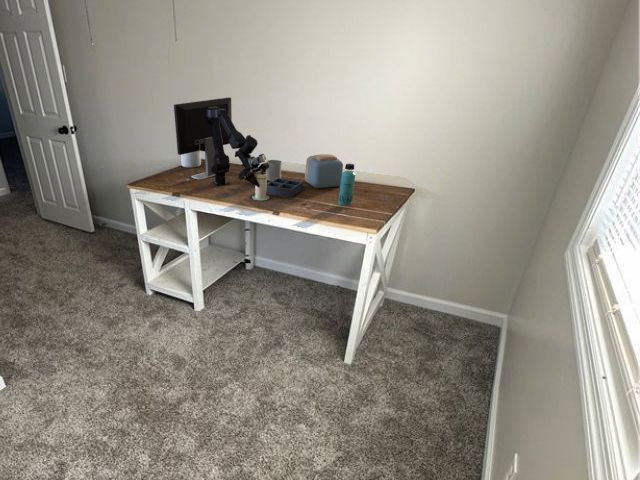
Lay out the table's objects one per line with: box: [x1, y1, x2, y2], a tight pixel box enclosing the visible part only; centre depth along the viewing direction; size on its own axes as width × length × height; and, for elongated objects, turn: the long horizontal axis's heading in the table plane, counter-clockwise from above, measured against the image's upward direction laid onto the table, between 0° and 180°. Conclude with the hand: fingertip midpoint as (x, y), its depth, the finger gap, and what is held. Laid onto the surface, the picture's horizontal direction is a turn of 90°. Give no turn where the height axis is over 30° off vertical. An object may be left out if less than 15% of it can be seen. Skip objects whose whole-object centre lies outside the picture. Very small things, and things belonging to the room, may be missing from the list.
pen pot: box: [254, 172, 268, 199], centre depth 209 cm, size 6×6×12 cm
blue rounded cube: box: [304, 153, 344, 190], centre depth 227 cm, size 16×16×16 cm
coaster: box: [251, 194, 270, 201], centre depth 212 cm, size 9×9×1 cm
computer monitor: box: [173, 96, 233, 180], centre depth 238 cm, size 41×8×40 cm, turn 136°
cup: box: [265, 159, 283, 182], centre depth 237 cm, size 8×8×10 cm
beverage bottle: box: [337, 163, 357, 207], centre depth 195 cm, size 6×7×20 cm
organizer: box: [266, 177, 304, 199], centre depth 219 cm, size 15×15×4 cm
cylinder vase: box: [180, 151, 202, 169], centre depth 261 cm, size 12×12×25 cm
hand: (263, 185), depth 208 cm, fingers closed on pen pot, 5 cm apart
